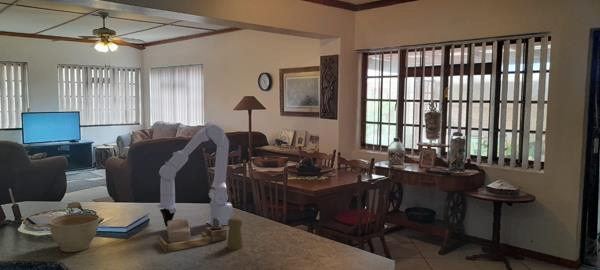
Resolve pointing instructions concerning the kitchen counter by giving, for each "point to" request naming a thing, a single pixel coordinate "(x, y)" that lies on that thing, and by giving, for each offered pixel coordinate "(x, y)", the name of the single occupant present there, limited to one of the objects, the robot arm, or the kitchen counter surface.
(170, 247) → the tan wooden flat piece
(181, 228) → the brick
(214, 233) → the walnut gauge block
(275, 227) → the kitchen counter surface
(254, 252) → the kitchen counter surface
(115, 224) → the kitchen counter surface
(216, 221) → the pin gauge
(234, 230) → the cork
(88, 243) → the planter bowl
